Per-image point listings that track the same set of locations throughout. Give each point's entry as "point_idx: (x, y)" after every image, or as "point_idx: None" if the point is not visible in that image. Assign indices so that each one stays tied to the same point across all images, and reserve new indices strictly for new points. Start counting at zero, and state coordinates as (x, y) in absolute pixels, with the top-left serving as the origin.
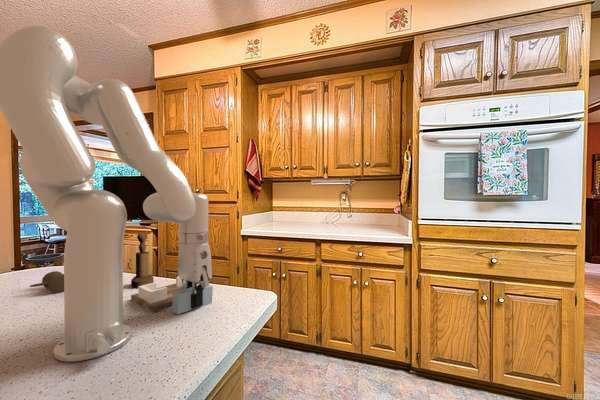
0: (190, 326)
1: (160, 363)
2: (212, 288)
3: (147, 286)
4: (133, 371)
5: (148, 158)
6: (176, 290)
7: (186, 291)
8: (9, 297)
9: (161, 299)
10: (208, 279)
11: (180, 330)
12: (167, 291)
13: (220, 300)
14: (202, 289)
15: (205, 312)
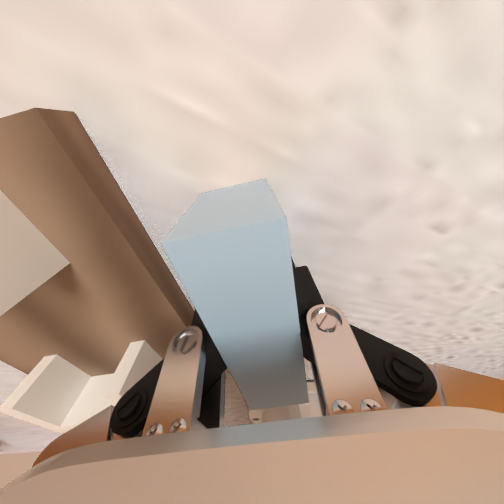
0: (395, 308)
1: (460, 363)
2: (281, 208)
3: (52, 415)
4: None
5: None
6: (27, 302)
7: (287, 380)
8: (5, 452)
9: (155, 354)
10: (474, 419)
11: (388, 327)
12: (39, 328)
13: (257, 101)
14: (375, 345)
15: (347, 246)
